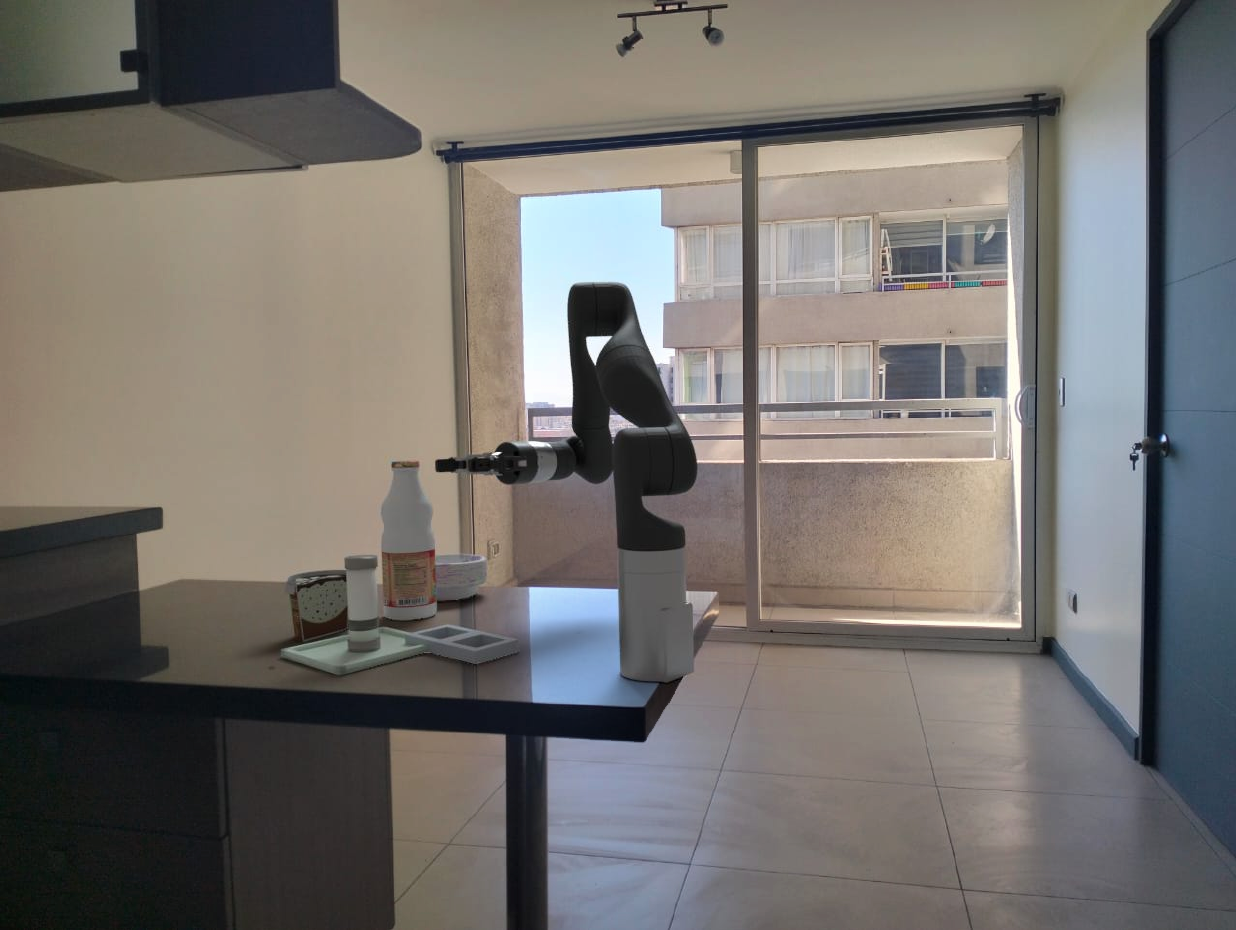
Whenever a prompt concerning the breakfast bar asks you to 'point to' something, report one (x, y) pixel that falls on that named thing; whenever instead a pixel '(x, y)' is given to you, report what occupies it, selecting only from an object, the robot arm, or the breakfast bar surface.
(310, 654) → the tray
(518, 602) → the breakfast bar surface
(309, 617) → the food container
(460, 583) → the paper bowls
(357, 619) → the grey-capped white cylinder
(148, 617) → the breakfast bar surface
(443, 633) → the fuse block
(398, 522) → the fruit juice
